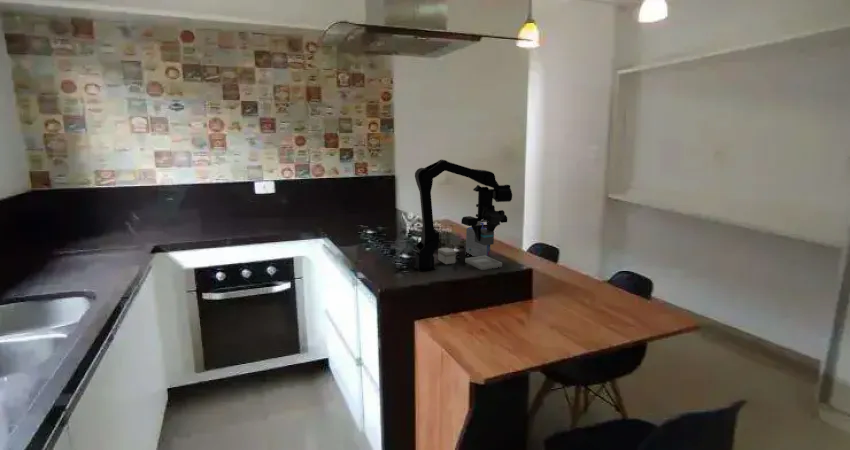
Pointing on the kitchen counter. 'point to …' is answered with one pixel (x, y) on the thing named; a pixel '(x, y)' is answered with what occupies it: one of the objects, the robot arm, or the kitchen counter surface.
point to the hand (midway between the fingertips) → (483, 240)
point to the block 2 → (486, 237)
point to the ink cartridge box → (475, 244)
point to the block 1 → (446, 255)
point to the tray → (483, 262)
